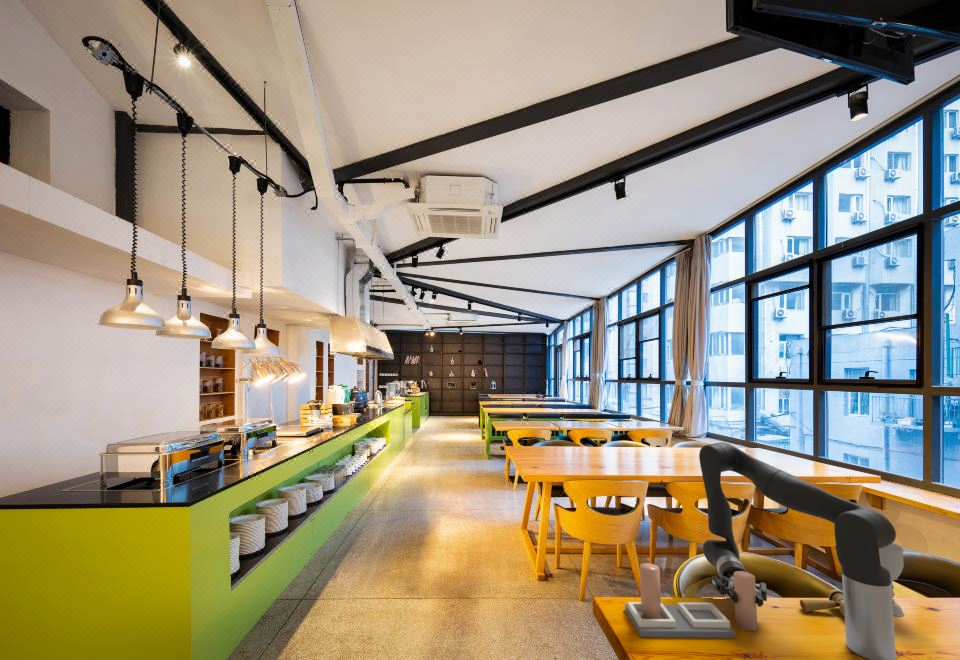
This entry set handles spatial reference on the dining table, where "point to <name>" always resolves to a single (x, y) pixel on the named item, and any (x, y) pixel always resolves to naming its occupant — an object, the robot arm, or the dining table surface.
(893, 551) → the chalice
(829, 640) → the dining table surface
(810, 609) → the kendama
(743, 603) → the post
